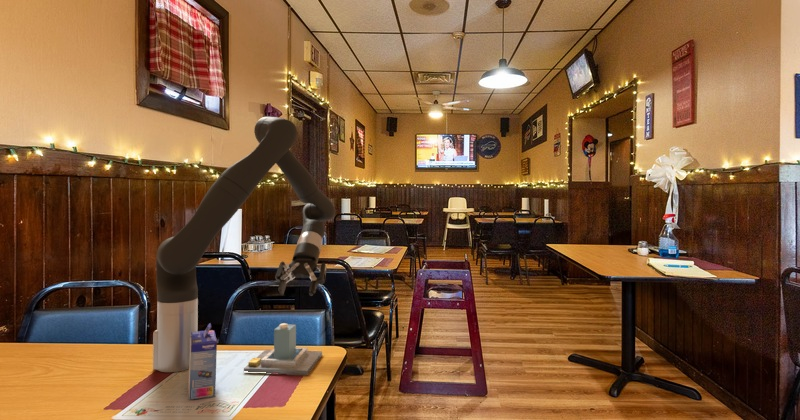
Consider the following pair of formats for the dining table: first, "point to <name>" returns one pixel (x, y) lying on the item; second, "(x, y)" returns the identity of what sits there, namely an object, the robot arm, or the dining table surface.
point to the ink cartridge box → (202, 364)
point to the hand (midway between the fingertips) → (295, 293)
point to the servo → (285, 341)
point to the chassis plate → (285, 362)
